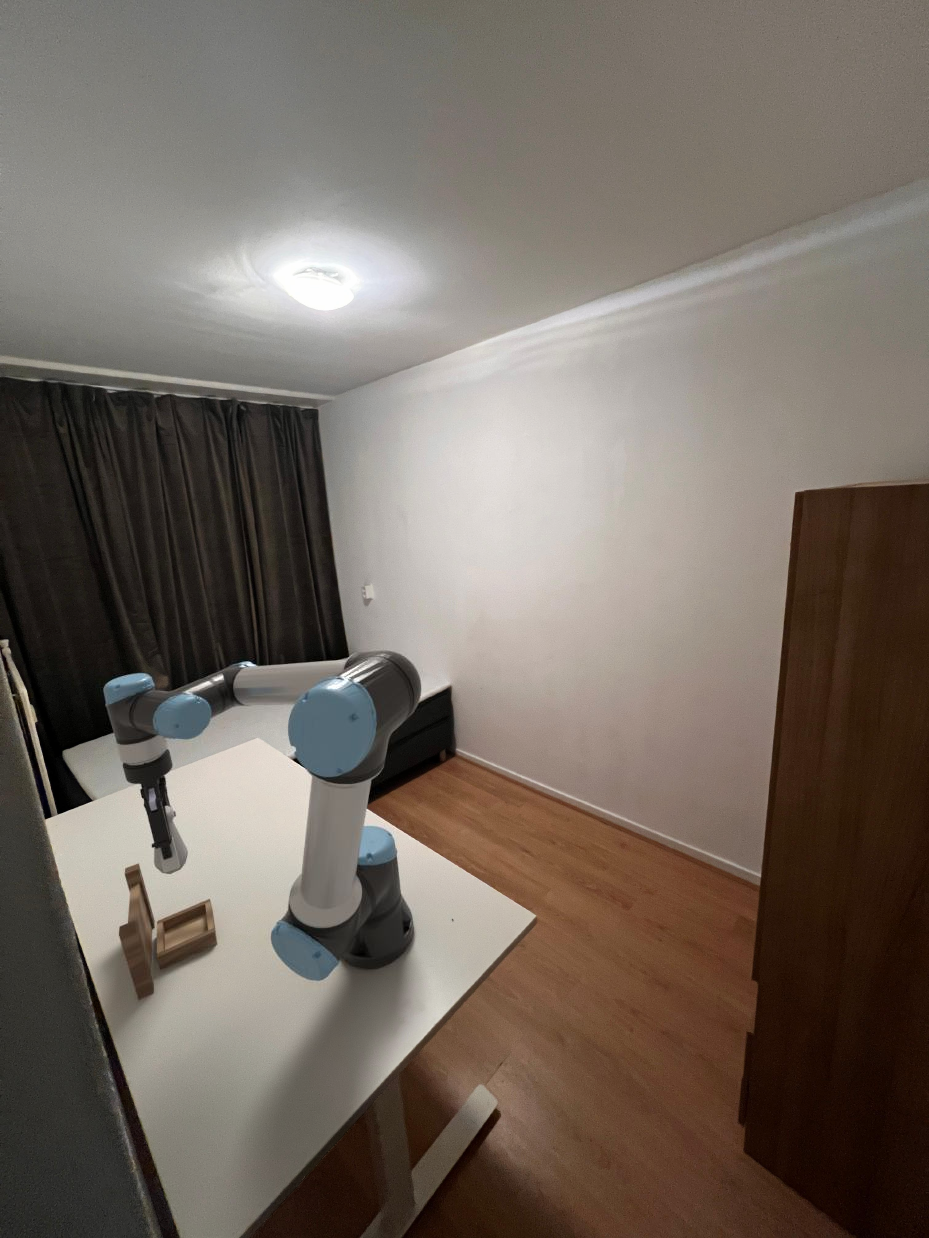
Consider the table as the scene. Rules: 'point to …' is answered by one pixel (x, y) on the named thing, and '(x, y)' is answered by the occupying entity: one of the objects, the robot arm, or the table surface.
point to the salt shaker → (178, 842)
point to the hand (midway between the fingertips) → (171, 858)
